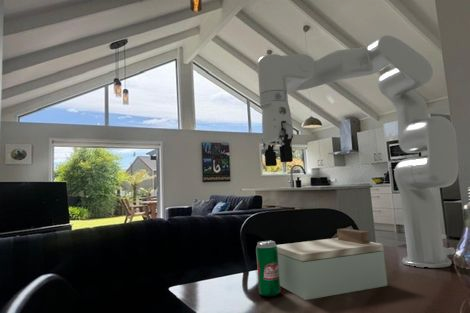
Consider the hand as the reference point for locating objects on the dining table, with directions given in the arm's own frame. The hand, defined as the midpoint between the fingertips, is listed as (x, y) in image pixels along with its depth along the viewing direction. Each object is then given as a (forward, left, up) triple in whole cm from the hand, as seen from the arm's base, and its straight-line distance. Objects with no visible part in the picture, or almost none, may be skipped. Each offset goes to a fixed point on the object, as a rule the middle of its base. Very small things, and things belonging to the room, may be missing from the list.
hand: (278, 164), depth 88 cm
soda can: (+7, +4, -31) cm, 32 cm away
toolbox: (-9, +4, -31) cm, 33 cm away
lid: (-9, +4, -23) cm, 25 cm away
